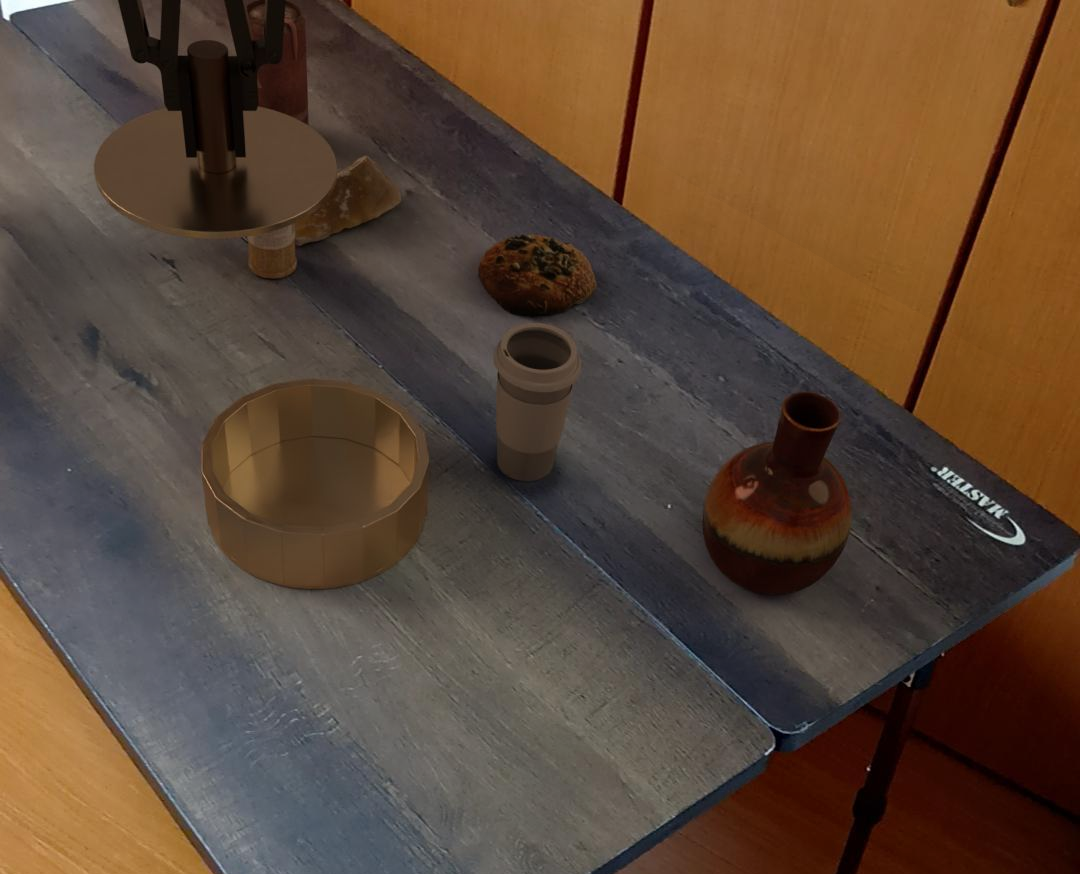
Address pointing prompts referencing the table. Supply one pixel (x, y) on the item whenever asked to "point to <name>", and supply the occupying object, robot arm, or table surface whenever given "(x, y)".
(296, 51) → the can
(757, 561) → the vase
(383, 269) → the table surface
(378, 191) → the stone
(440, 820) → the table surface
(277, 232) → the sprinkles bottle
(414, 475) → the pot
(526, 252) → the bread roll
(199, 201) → the pot lid
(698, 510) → the table surface
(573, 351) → the cup
